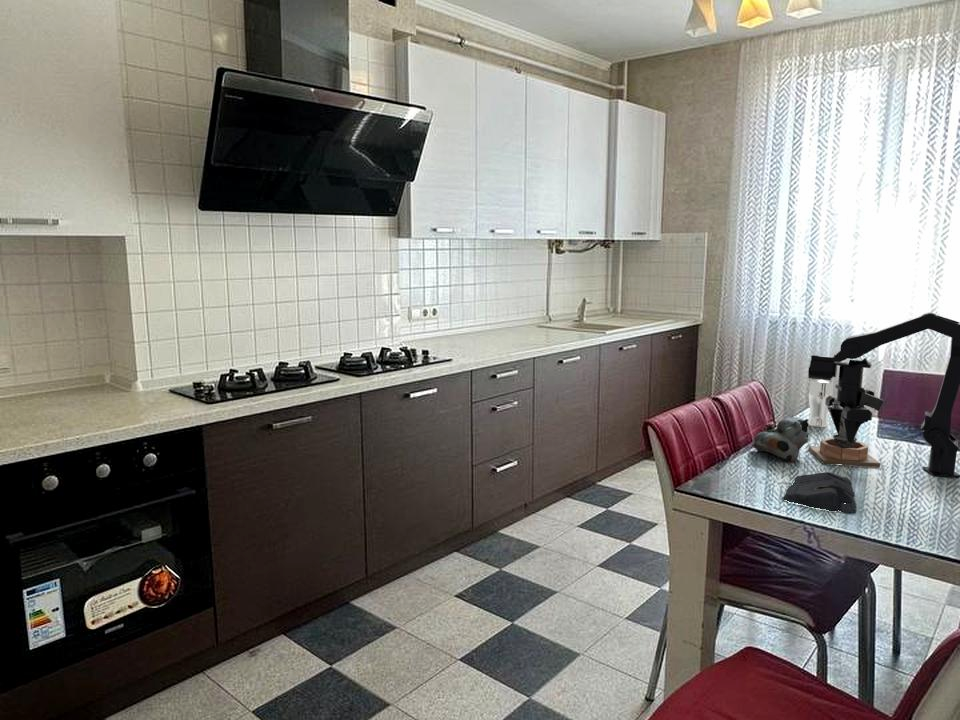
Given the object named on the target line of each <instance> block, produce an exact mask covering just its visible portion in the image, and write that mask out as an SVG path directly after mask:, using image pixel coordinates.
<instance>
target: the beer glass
mask: <svg viewBox="0 0 960 720" xmlns="http://www.w3.org/2000/svg"><path fill="white" fill-rule="evenodd" d="M833 393H834V381H833V380H831V381H830V380H819V379H810V384H809V391H808V401H809V402H808V404H809V418H808V424H809V426H810V427H813V426H814V427H815V428H828V427H829V418H828V417H829V410H828V409H827V407H828V406H826V405H825V401H826V398H827V397H828V396H829V395H830V396H834V395H833Z"/></svg>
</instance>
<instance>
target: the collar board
mask: <svg viewBox="0 0 960 720" xmlns="http://www.w3.org/2000/svg"><path fill="white" fill-rule="evenodd" d="M819 442H820V443H819V445H818V446H817V445H815V446H814V445H808V451H809V452H810V453H811V454H812V453H813V454H814V455H815V456H816V457H817V458H816V457H815V456H814V455H813V454H812V455H813V456H814V457H815V458H816V459H818V461H820V462H821V463H822V462H823V463H824V464H823V463H822V464H823V465H825V464H842V465H841V466H843V465H852V466H851V467H861V468H881V462H879V461H878V460H877V459H875V458H874V457H873V456H871V455H870V454H869V446H868V445H867V444H865V443H864V442H862V441H857V440H856V441H855V444H854V445H853V446H852V447H849V448H841V447H837V446H838V445H837V444H836V443H835V441H834V438H833V437H828V438H823V439H821V440H820V441H819Z"/></svg>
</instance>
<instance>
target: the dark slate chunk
mask: <svg viewBox="0 0 960 720" xmlns="http://www.w3.org/2000/svg"><path fill="white" fill-rule="evenodd" d="M794 479H795V482H794V483H793V482H792V483H793V485H791V486H790V485H789V486H788V487H789V488H787V489H786V491H785V493H786V494H785V493H784V495H785V496H784V495H783V497H782V499H784V500H787V501H789V502H794V503H798V504H803V505H806V506H809V507H814V508H820V509H826V510H829V511H838V510H839V511H841V512H848V513H847V514H851V513H853V514H856V512H857V509H858V507H857V503H856V499H855V496H856V495H855V492H854V488H853V483H852V480H851V479H849V478H848V477H845V476H841V475H839V474H838V475H837V474H835V473H832V472H829V471H826V472H825V471H824V472H818V473H817V472H816V473H813V474H802V475H798V476H796V477H794ZM844 503H846V504H844Z"/></svg>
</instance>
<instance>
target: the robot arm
mask: <svg viewBox="0 0 960 720" xmlns="http://www.w3.org/2000/svg"><path fill="white" fill-rule="evenodd" d="M927 330H930V331H932V332H933V331H934V332H936V333H939V334H942V335H943V336H946V337H950V338H951V341H950V353H949V359H948V363H947V366H946V369H945V372H944V376H943V379H942V383H941V386H940V390H939V391H938V392H939V394H938V396H937V400H936V404H935V405H934V408H933V409H932V411H931V412H929V411H924V414H925V415H924V420H923V422H922V423H921V424H920V431H922V432H923V433H922V434H923V435H922V437H923V439H924V440H925V442H926V443H927V444H929V445H930V451H929V452H930V453H929V458H928V466H922V469H923V470H924V471H925V472H928V473H929V474H930V475H931V476H936V477H951V478H952V477H953V478H960V473H958V472H956V471H955V469H956V463H957V454H958V451H959V442H958V439H957V438H956V437H955V436H954V435H953V434H952V433H951V427H952V412H953V408H954V405H955V402H956V398H957V395H958V392H959V389H960V321H957V320H953V319H950V318H947V317H944V316H942V315H938V314H936V313H934V312H925V313H923V314H922V315H919V316H916V317H914V318H911V319H907V320H905V321H903V322H900V323H897V324H893V325H892V326H889V327H885V328H883V329H880V330H877V331H873V332H865V333H861V334H855V335H850V336H848V337H847V338H845V339H844V340H843V341H842V342H841V344H840V349H839V351H838V352H835V353H834V355H833V356H830V355H829V356H828V355H819V354H814V353H813V354H812V355H811V358H810V362H809V367H808V373H807V375H808V379H810V380H811V379H819V380H830V381H833V380H832V379H833V378H837V374H838V381H837V383H835V387H834V388H836V389H837V391H836V395H833V396H830V395H829V396H828V397H827V398H826V401H825V405H826V406H828V407H827V409H828V410H829V412H828V414H829V415H830V417H831V420H832V423H833V425H834V426H833V427H835V430H836V433H837V434H838V433H839V430H840V424H839V423H840V422H841V418H842V422H843V426H844V429H845V433H846V437H847V440H848V442H853V440H854V438H856V436H857V433H858V432H859V429H860V427H861V426H862V425H863V424H865V423H868V422H869V421H872V419H873V412H871V410H870V409H868V408H866V407H869V408H872V409H874V410H875V411H877V412H880V411H881V409H882V407H883V405H884V403H885V400H883V399H882V398H880V397H878V396H876V395H875V392H874V391H872V390H870V389H865V388H864V387H863V386H862V385H863V375H864V368H865V369H871V368H872V363H871V362H870V361H868V358H867V357H864V358H863V359H862V360H861V359H860V360H858V358H860V357H862V356H864V355H866V354H867V353H869V352H871V351H873V350H875V349H876V348H879V347H881V346H883V345H885V344H888V343H891V342H894V341H897V340H900V339H903V338H906V337H908V336H909V337H910V336H912V335H914V334H918V333H921V332H923V331H927ZM847 359H849V362H842V361H846V360H847ZM856 359H857V360H856ZM838 366H839V367H838ZM838 368H839V370H838ZM838 371H839V373H838ZM841 413H842V414H843V417H841Z"/></svg>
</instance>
